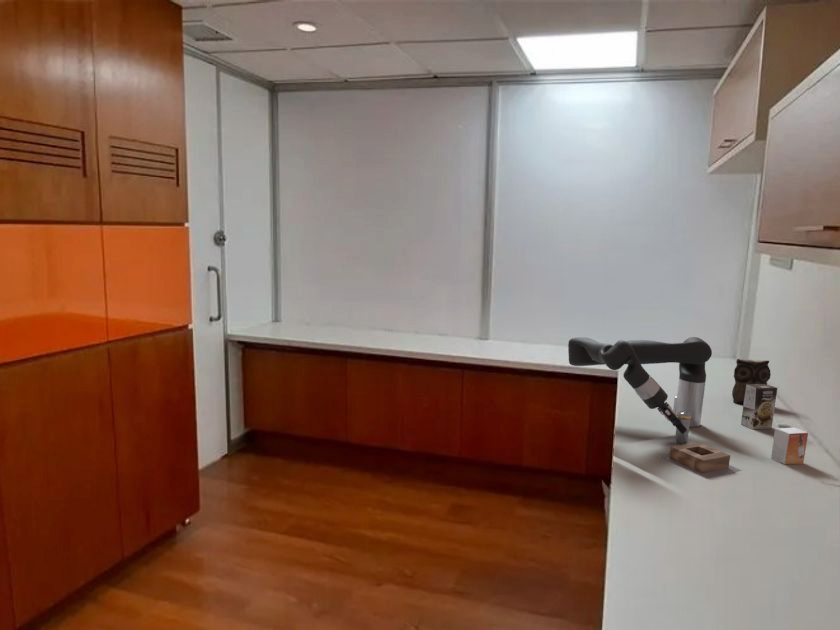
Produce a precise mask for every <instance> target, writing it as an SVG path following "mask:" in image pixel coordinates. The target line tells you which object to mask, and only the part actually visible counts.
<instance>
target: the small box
mask: <svg viewBox="0 0 840 630" xmlns="http://www.w3.org/2000/svg"><path fill="white" fill-rule="evenodd" d="M808 436H809V433H808V432H807V431H805V430H802V429H799V428H797V427H781V428H777V427H776V428H774V435H773V442H772V447H771V448H772V449H771V454H770V458H771V459H772V460H774V461H777V462H778V463H780V464H783V465H792V464H793V465H795V464H796V465H797V464H799V465H800V464H804V462H805V455H806V448H807V443H808Z"/></svg>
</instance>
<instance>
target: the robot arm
mask: <svg viewBox="0 0 840 630" xmlns="http://www.w3.org/2000/svg"><path fill="white" fill-rule="evenodd" d="M567 347H568V364H569V365H571V366H573V367H574V366H575V367H586V366H587V367H588V366H602V365H604V366H606V367H607V368H608V369H610V370H612V371H617V370H619V369H621V368H622V367H623V366H624V365H627V367H626V368H625V370H624V372H623V373H622V374H623V378H624V380H625V381H626V382H627V383H628V384H629V385H630V387H631V388H632V389H633V390H634V392H635V394H636V395H638V397H639V398H640V399H641V401H642V402H643V403H644V404H645V405H646V406H647V407H648V408H649V409H650V410H655V409H657V410H658V412H659V413H660V415H663V416H664V418H665V419H666V420H667V421H669V422H670V423H671V424H672V426H674V427H675V429H676V428H677V429H678V430H679V431H680V432H681V433H682V434H683V433H684V432H686V431H687V429H686V428H685V427H684V425H683V424H682V423H681V422H680V420H679V419H678V418H677V413H678V412H679V411H685V412H689V413H691V419H690V425H689V428H696V427H698V428H699V427H700V426H701V424H702V423H701V422H702V414H703V405H704V398H705V390H706V389H705V387H706V382H707V381H706V380H707V373H706V363H707V362H708V361H709V360H710V359H711V358H712V354H713V352H712V348H711V347H710V345H709V344H708V343H707V342H706V341H705V340H703V339H702V338H700V337H696V336H691V337H688V338H686V339H685V340H684V341H683V342H675V343H674V342H673V343H671V342H662V341H656V340H648V339H636V340H635V339H634V340H632V339H631V340H630V339H629V340H622V339H621V340H618V341H616V342H615V343H614V344H610V343H601V342H598V341H597V340H595V339H593V338H589V337H581V336H580V337H572V338H570V339H569V340H568V343H567ZM667 363H669V364H670V363H674V364H675V363H676V364H677V363H678V372H679V376H678V385H677V393H676V396H674V400H673V409H672V406H671V405H670V404H669V403H668V402H667V399H668V393H666V392H667V391H665V390H664V388H662V386H660V384H659V383H658V382H657V381H656V380H655V379H654V378H653V377H652V376H651V375H650V374H649V373H648V372H647V370H646V369H645V368H644V367H643V366H642V365H652V364H667Z"/></svg>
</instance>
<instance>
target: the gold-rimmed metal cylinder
mask: <svg viewBox="0 0 840 630" xmlns="http://www.w3.org/2000/svg"><path fill="white" fill-rule="evenodd" d="M677 418H678V419H679V420H680V422H681V423H682V424H683V425H684V427H685V428H686V429H687V431H686V432H684V433H683V434H682V433H681V432H680V431H679V430H678V429H677V428H676V427H675V436H674V443H675V444H677V445H682V444H688V443H689V442H688V441H689V432H690V427H689V425H690V419H691V413H689V412H685V411H679V412H678V413H677Z"/></svg>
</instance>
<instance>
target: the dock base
mask: <svg viewBox="0 0 840 630" xmlns="http://www.w3.org/2000/svg"><path fill="white" fill-rule="evenodd" d="M657 457H659V458H660V459H662V460H664V461H667V462H670V463H671V464H673V465H675V466H678V467H681V468H682V469H685V470H686V471H689V472H691V473H693V474H696V475H698V476H700V477H702V478H705V479H711V478H716V477H719V476H723V475H727V474H733V473H737V472H742V469H741V468H740V469H739V468H737V467H735V466H732V465H730V464H729V468H724V469H720V470H715V471H711V472H706V473H700V472H698V471H696V470H694V469H691V468H689V467H687V466H685V465H683V464H680V463H678V462H676V461H674V460H671V459H669V458H670V453H667V454H661V455H657Z"/></svg>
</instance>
